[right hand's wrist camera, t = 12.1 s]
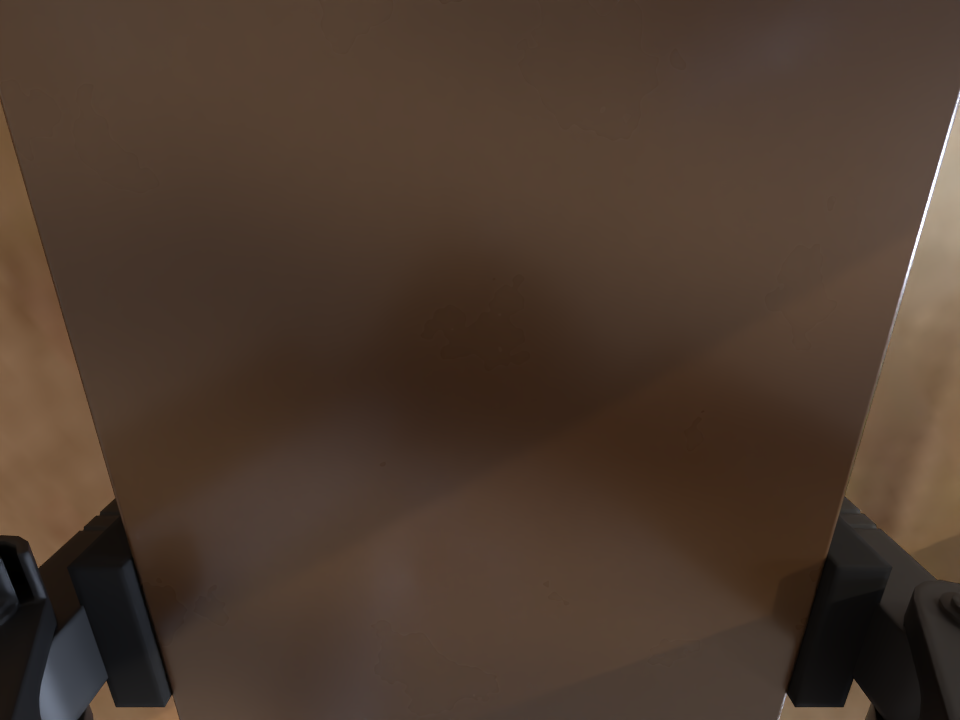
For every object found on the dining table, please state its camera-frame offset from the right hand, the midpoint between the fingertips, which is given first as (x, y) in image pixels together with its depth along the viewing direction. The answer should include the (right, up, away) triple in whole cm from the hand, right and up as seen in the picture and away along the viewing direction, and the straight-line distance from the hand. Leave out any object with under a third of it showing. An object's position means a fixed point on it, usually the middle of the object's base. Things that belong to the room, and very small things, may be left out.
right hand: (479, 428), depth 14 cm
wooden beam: (0, +26, -9) cm, 28 cm away
